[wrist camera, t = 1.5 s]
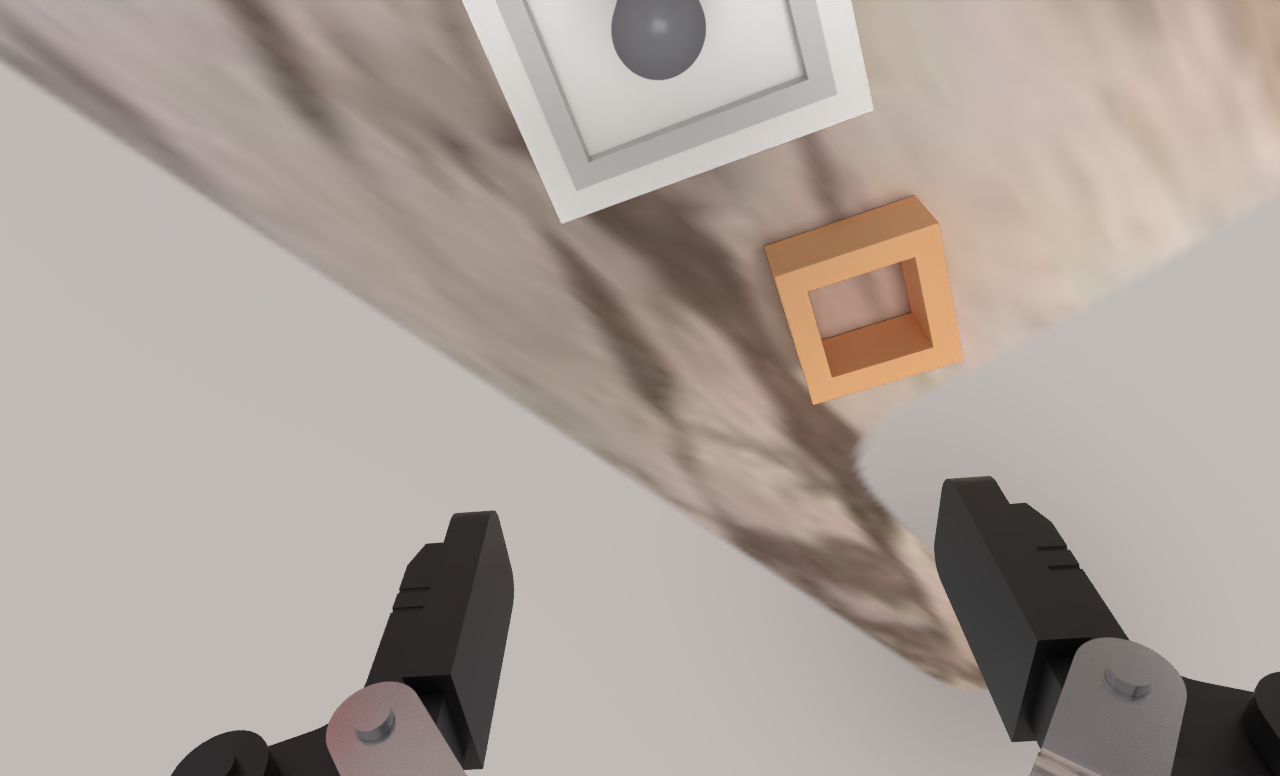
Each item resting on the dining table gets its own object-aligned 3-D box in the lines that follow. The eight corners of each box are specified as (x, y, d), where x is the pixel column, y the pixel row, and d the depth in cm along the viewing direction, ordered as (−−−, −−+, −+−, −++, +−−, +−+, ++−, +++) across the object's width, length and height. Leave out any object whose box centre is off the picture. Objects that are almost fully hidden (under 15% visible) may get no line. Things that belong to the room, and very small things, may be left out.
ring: (914, 195, 30) (938, 222, 28) (939, 324, 33) (963, 360, 31) (764, 246, 31) (774, 277, 29) (801, 367, 34) (813, 404, 32)
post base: (780, -304, 22) (839, -391, 16) (867, 103, 28) (936, 169, 22) (412, -129, 25) (324, -137, 18) (563, 215, 31) (540, 305, 24)
